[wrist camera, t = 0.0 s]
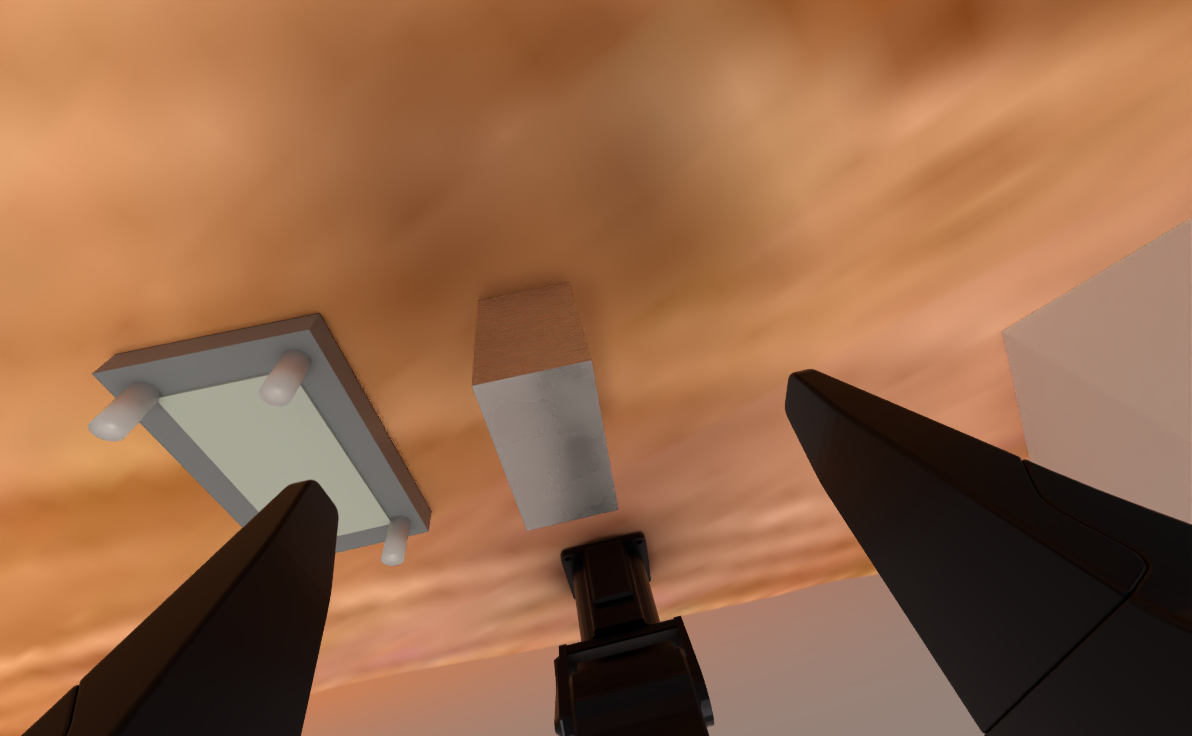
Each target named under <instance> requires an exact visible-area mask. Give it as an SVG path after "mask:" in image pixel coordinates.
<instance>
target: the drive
mask: <svg viewBox="0 0 1192 736" xmlns="http://www.w3.org/2000/svg"><path fill="white" fill-rule="evenodd" d="M472 388H473V391H474V393H475V396H476V399H477V401H478V404H479V406H480V409H481V412H482V414H483V417H484V419H485V422H486V425H487V427H488V430H489V433H490V435H491V438H492V440H493V443H494V446H495V448H496V451H497V454H498V456H499V459H500V461H501V464H502V467H503V469H504V472H505V474H506V477H507V480H508V482H509V485H510V488H511V490H512V493H513V495H514V498H515V501H516V503H517V506H518V509H519V511H520V514H521V516H522V519H523V522H524V524H525V527H526V530H527V531H529V530H533V529H537V528H542V527H546V526H550V525H555V524H559V523H563V522H567V521H572V520H576V519H580V518H585V517H589V516H593V515H597V514H602V513H606V512H610V511H615V510H618V505H617V499H616V494H615V488H614V483H613V477H612V472H611V466H610V460H609V455H608V449H607V444H606V438H605V433H604V427H603V421H602V416H601V410H600V405H599V399H598V394H597V388H596V382H595V377H594V371H593V366H592V360H591V357H590V353H589V350H588V346H587V343H586V339H585V336H584V332H583V329H582V325H581V322H580V318H579V315H578V311H577V308H576V305H575V301H574V298H573V294H572V291H571V287H570V284H569V282H566V283H561V284H557V285H552V286H547V287H542V288H537V289H532V290H527V291H522V292H517V293H513V294H508V295H503V296H498V297H493V298H488V299H483V300H478V310H477V324H476V337H475V350H474V363H473V376H472Z"/></svg>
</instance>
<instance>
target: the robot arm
mask: <svg viewBox="0 0 1192 736" xmlns="http://www.w3.org/2000/svg"><path fill="white" fill-rule="evenodd" d="M785 411H786V415H787V417H788V419H789V421H790V423H791V425H792V427H793V429H794V431H795V433H796V435H797V437H798V439H799V441H800V443H801V445H802V447H803V449H804V451H805V453H806V455H807V457H808V459H809V461H810V463H811V465H812V467H813V469H814V471H815V473H816V475H817V477H818V479H819V481H820V483H821V484H822V486H823V488H824V489H825V491H826V493H827V494H828V496H829V497H830V499H831V500H832V502H833V503H834V505H835V507H836V508H837V510H838V511H839V513H840V514H841V516H842V517H843V519H844V520H845V522H846V523H847V525H848V527H849V528H850V530H851V531H852V533H853V534H854V536H855V537H856V539H857V540H858V542H859V544H860V545H861V547H862V548H863V550H864V551H865V553H866V554H867V556H868V557H869V559H870V560H871V562H872V564H873V565H874V567H875V568H876V570H877V571H878V573H879V574H880V576H881V577H882V579H883V580H884V582H885V583H886V585H887V586H888V588H889V589H890V591H891V593H892V594H893V596H894V597H895V599H896V600H897V602H898V604H899V605H900V607H901V608H902V610H903V611H904V613H905V614H906V616H907V617H908V619H909V621H910V622H911V624H912V625H913V627H914V628H915V630H916V631H917V633H918V634H919V636H920V637H921V639H922V640H923V642H924V644H925V645H926V647H927V648H928V650H929V651H930V653H931V654H932V656H933V658H934V659H935V661H936V662H937V664H938V665H939V667H940V668H941V670H942V671H943V673H944V675H945V676H946V678H947V679H948V681H949V682H950V684H951V685H952V687H953V688H954V690H955V691H956V693H957V695H958V696H959V698H960V699H961V701H962V702H963V704H964V705H965V707H966V708H967V710H968V712H969V713H970V715H971V716H972V718H973V719H974V721H975V722H976V724H977V725H978V727H979V728H980V730H981V731H982V732H983V733H985V735H984V736H1192V524H1189V523H1187V522H1184V521H1181V520H1179V519H1176V518H1173V517H1170V516H1168V515H1165V514H1162V513H1159V512H1157V511H1154V510H1151V509H1148V508H1146V507H1143V506H1141V505H1138V504H1135V503H1133V502H1130V501H1127V500H1125V499H1122V498H1119V497H1117V496H1114V495H1111V494H1109V493H1106V492H1104V491H1101V490H1098V489H1096V488H1093V487H1091V486H1088V485H1086V484H1084V483H1081V482H1079V481H1076V480H1074V479H1071V478H1069V477H1066V476H1064V475H1062V474H1059V473H1057V472H1054V471H1052V470H1050V469H1047V468H1045V467H1042V466H1040V465H1038V464H1035V463H1033V462H1031V461H1028V460H1021V458H1020V457H1019V456H1016V455H1014V454H1012V453H1009V452H1007V451H1005V450H1002V449H1000V448H998V447H995V446H993V445H991V444H988V443H986V442H983V441H981V440H979V439H976V438H974V437H972V436H969V435H967V434H965V433H962V432H960V431H958V430H955V429H953V428H951V427H948V426H946V425H944V424H941V423H939V422H936V421H934V420H932V419H929V418H927V417H925V416H922V415H920V414H918V413H915V412H913V411H911V410H908V409H906V408H904V407H901V406H899V405H897V404H894V403H892V402H889V401H887V400H885V399H882V398H880V397H878V396H875V395H873V394H871V393H868V392H866V391H864V390H861V389H859V388H857V387H854V386H852V385H850V384H847V383H845V382H843V381H840V380H838V379H835V378H833V377H831V376H828V375H826V374H824V373H821V372H819V371H817V370H814V369H807V370H802V371H798V372H794V373H792V374H791V375H790V376H789V379H788V385H787V393H786V400H785ZM338 521H339V515H338V510H337V508H336V506H335V504H334V503H333V501H332V500H331V499H330V497H329V496H328V495H327V493H326V492H325V491H324V489H323V488H322V487H321V485H320V484H319V483H318V482H317V481H315V480H305V481H300V482H296V483H292V484H289V485H288V486H286V487H285V488H284V489H283V490H282V491H281V492H280V493H279V494H278V495H277V496H276V497H275V498H274V499H272V500H271V501H270V502H269V503H268V504H267V505H266V506H265V507H264V508H263V509H262V510H261V511H260V512H259V513H258V514H257V515H256V516H254V517H253V518H252V519H251V520H250V521H249V522H248V523H247V524H246V525H245V526H244V527H243V528H242V529H241V530H240V531H239V532H237V533H236V534H235V535H234V536H233V537H232V538H231V539H230V540H229V541H228V542H227V543H226V544H225V545H224V546H223V547H222V548H220V549H219V550H218V551H217V552H216V553H215V554H214V555H213V556H212V557H211V558H210V559H209V560H208V561H207V562H206V563H205V564H203V565H202V566H201V567H200V568H199V569H198V570H197V571H196V572H195V573H194V574H193V575H192V576H191V577H190V578H189V579H188V580H186V581H185V582H184V583H183V584H182V585H181V586H180V587H179V588H178V589H177V590H176V591H175V592H174V593H173V594H172V595H171V596H169V597H168V598H167V599H166V600H165V601H164V602H163V603H162V604H161V605H160V606H159V607H158V608H157V609H156V610H155V611H154V612H152V613H151V614H150V615H149V616H148V617H147V618H146V619H145V620H144V621H143V622H142V623H141V624H140V625H139V626H138V627H137V628H135V629H134V630H133V631H132V632H131V633H130V634H129V635H128V636H127V637H126V638H125V639H124V640H123V641H122V642H121V643H120V644H118V645H117V646H116V647H115V648H114V649H113V650H112V651H111V652H110V653H109V654H108V655H107V656H106V657H105V658H104V659H103V660H101V661H100V662H99V663H98V664H97V665H96V666H95V667H94V668H93V669H92V670H91V671H90V672H89V673H88V674H87V675H86V676H84V677H83V678H82V679H81V681H80V684H79V685H76V686H74V687H73V688H72V689H70V690H69V691H68V692H67V693H66V694H65V695H64V696H63V697H62V698H61V699H60V700H59V701H58V702H57V703H56V704H55V705H54V706H53V707H52V708H50V709H49V710H48V711H47V712H46V713H45V714H44V715H43V716H42V717H41V718H40V719H39V720H38V721H36V722H35V723H34V724H33V725H32V726H31V727H30V728H29V729H28V730H27V731H26V732H25V733H23V734H22V735H21V736H301V733H302V728H303V723H304V719H305V714H306V710H307V705H308V700H309V696H310V691H311V687H312V682H313V677H314V673H315V668H316V663H317V659H318V654H319V650H320V645H321V640H322V636H323V631H324V626H325V622H326V617H327V612H328V607H329V602H330V596H331V589H332V580H333V570H334V561H335V551H336V541H337V531H338ZM561 561H562V564H563V567H564V570H565V573H566V576H567V579H568V582H569V585H570V588H571V591H572V594H573V597H574V599H576V606H577V614H578V621H579V628H580V636H581V642H578V643H574V644H570V645H567V644H564V645H560V646H559V657H557V658H556V659H555V660H554V666H555V676H556V701H555V720H554V725H555V732H556V734H558V735H559V736H709V733H708V730H707V727H709V726H713V725H714V717H713V712H712V707H711V704H710V699H709V696H708V692H707V688H706V685H705V681H704V678H703V675H702V672H701V669H700V666H699V664H698V661H697V659H696V655H695V653H694V650H693V648H692V645H691V642H690V639H689V637H688V634H687V631H686V628H685V626H684V623H683V620H682V618H681V616H677V617H673V619H671V620H667V621H663V622H660V620H659V616H658V613H657V609H656V605H655V602H654V598H653V595H652V591H651V587H650V584H649V582H650V581H651V577H650V569H649V562H648V554H647V546H646V540H645V536H644V535H643V534H641V533H639V534H634V535H630V536H626V537H621V538H617V539H613V540H609V541H604V542H600V543H596V544H592V545H587V546H583V547H579V548H575V549H570V550H566V551H564V552H562V553H561Z"/></svg>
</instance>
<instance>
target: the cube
mask: <svg viewBox="0 0 1192 736" xmlns="http://www.w3.org/2000/svg"><path fill="white" fill-rule="evenodd" d="M1002 334H1003V338H1004V343H1005V348H1006V352H1007V357H1008V361H1009V366H1010V371H1011V375H1012V380H1013V385H1014V389H1015V394H1016V398H1017V403H1018V408H1019V412H1020V417H1021V422H1022V426H1023V431H1024V436H1025V440H1026V445H1027V449H1028V454H1029V459H1030V461H1031V462H1033V463H1035V464H1038V465H1040V466H1042V467H1045V468H1047V469H1050V470H1052V471H1054V472H1057V473H1059V474H1062V475H1064V476H1066V477H1069V478H1071V479H1074V480H1076V481H1079V482H1081V483H1084V484H1086V485H1088V486H1091V487H1093V488H1096V489H1098V490H1101V491H1104V492H1106V493H1109V494H1111V495H1114V496H1117V497H1119V498H1122V499H1125V500H1127V501H1130V502H1133V503H1135V504H1138V505H1141V506H1143V507H1146V508H1148V509H1151V510H1154V511H1157V512H1159V513H1162V514H1165V515H1168V516H1170V517H1173V518H1176V519H1179V520H1181V521H1184V522H1187V523H1189V524H1192V217H1191V218H1190V219H1188V220H1186V221H1185V222H1183V223H1181V224H1180V225H1178V226H1176V227H1175V228H1173V229H1171V230H1170V231H1168V232H1166V233H1165V234H1163V235H1161V236H1160V237H1158V238H1156V239H1155V240H1153V241H1151V242H1150V243H1148V244H1146V245H1145V246H1143V247H1141V248H1140V249H1138V250H1136V251H1135V252H1133V253H1131V254H1130V255H1128V256H1126V257H1125V258H1123V259H1121V260H1120V261H1118V262H1116V263H1115V264H1113V265H1111V266H1110V267H1108V268H1106V269H1105V270H1103V271H1101V272H1100V273H1098V274H1096V275H1095V276H1093V277H1091V278H1090V279H1088V280H1086V281H1085V282H1083V283H1081V284H1080V285H1078V286H1076V287H1075V288H1073V289H1071V290H1070V291H1068V292H1066V293H1065V294H1063V295H1061V296H1060V297H1058V298H1056V299H1055V300H1053V301H1051V302H1050V303H1048V304H1046V305H1045V306H1043V307H1041V308H1040V309H1038V310H1036V311H1035V312H1033V313H1031V314H1030V315H1028V316H1026V317H1025V318H1023V319H1021V320H1020V321H1018V322H1016V323H1015V324H1013V325H1011V326H1010V327H1008V328H1006V329H1005V330H1003V331H1002Z"/></svg>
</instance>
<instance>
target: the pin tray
mask: <svg viewBox="0 0 1192 736" xmlns="http://www.w3.org/2000/svg"><path fill="white" fill-rule="evenodd" d="M92 374H93V375H94V376H95V377H96V378H97V379H98V380H99V381H100V383H101V384H102V385H103V386H104V387H105V388H106V389H107V390H108V391H109V392H110V393H111V394H112V395H113V396H114V397H115V399H114V400H113V401H112V402H111V403H110V404H109V405H108V406H107V407H106V408H105V409H104V410H103V411H102V412H101V413H99V414H98V415H97V416H96V417H95V418H94V419H93V420H92V421H91V422H90V423H89V425H88V428H89V430H90V432H91V433H92V434H93V435H95V436H96V437H98V438H100V439H103V440H106V441H120V440H122V439H124V438H125V437H126V436H127V435H128V434H129V433H130V431H131V430H132V429H133V428H134V427H135V426H136V425H137V424H138V423H139V422H140V423H141V424H142V425H143V426H144V427H145V428H146V429H147V431H148V432H149V433H150V434H151V435H152V436H153V437H154V438H155V439H156V440H157V441H158V442H159V443H160V444H161V445H162V446H163V447H164V448H165V449H166V450H167V451H168V452H169V453H170V454H171V455H172V456H173V457H174V458H175V459H176V460H177V461H178V462H179V463H180V464H181V465H182V466H183V467H184V468H185V469H186V470H187V471H188V472H189V473H190V474H191V475H192V476H193V477H194V479H195V480H196V481H197V482H198V483H199V484H200V485H201V486H202V487H203V488H204V489H205V490H206V491H207V492H208V493H209V494H210V495H211V496H212V497H213V498H214V499H215V500H216V501H217V502H218V503H219V504H220V505H221V506H222V507H223V508H224V509H225V510H226V511H227V512H228V513H229V514H230V515H231V516H232V517H233V518H234V519H235V520H236V521H237V522H238V523H239V524H240V525H241V527H242V528H243V527H244V526H245V525H246V524H247V523H248V522H249V521H250V520H251V519H252V518H253V517H254V516H256V515H257V514H258V513H259V512H260V511H261V510H262V509H263V508H264V507H265V506H266V505H267V504H268V503H269V502H270V501H271V500H272V499H274V498H275V497H276V496H277V495H278V494H279V493H280V492H281V491H282V490H283V489H284V488H285V487H286V486H288V485H289V484H292V483H296V482H300V481H305V480H315V481H317V482H318V483H319V484H320V485H321V487H322V488H323V489H324V491H325V492H326V493H327V495H328V496H329V497H330V499H331V500H332V501H333V503H334V504H335V506H336V508H337V510H338V515H339V521H338V531H337V541H336V551H335V553H337V552H342V551H346V550H350V549H355V548H359V547H363V546H368V545H372V544H376V543H381V542H385V544H384V548H383V553H382V557H381V561H382V563H383V564H385V565H389V566H396V565H399V564H401V563H402V562H403V561H404V556H405V550H406V545H407V539H408V536H411V535H416V534H420V533H424V532H429V525H430V518H431V511H430V509H429V507H428V505H427V503H426V502H425V500H424V498H423V496H422V495H421V493H420V491H419V489H418V487H417V486H416V484H415V482H414V480H413V479H412V477H411V475H410V473H409V471H408V470H407V468H406V466H405V464H404V463H403V461H402V459H401V457H400V455H399V454H398V452H397V450H396V448H395V447H394V445H393V443H392V441H391V439H390V438H389V436H388V434H387V432H386V431H385V429H384V427H383V425H382V423H381V422H380V420H379V418H378V416H377V415H376V413H375V411H374V409H373V407H372V406H371V404H370V402H369V400H368V399H367V397H366V395H365V393H364V391H363V390H362V388H361V386H360V384H359V383H358V381H357V379H356V377H355V375H354V374H353V372H352V370H351V368H350V367H349V365H348V363H347V361H346V359H345V358H344V356H343V354H342V352H341V351H340V349H339V347H338V345H337V343H336V342H335V340H334V338H333V336H332V335H331V333H330V331H329V329H328V327H327V326H326V324H325V322H324V320H323V319H322V317H321V315H320V313H318V314H313V315H308V316H303V317H299V318H294V319H289V320H284V321H279V322H274V323H269V324H264V325H259V326H254V327H249V328H244V329H239V330H234V331H229V332H224V333H219V334H215V335H210V336H205V337H200V338H195V339H190V340H185V341H180V342H175V343H170V344H165V345H160V346H155V347H150V348H145V349H140V350H136V351H131V352H126V353H121V354H116V355H114V356H113V357H112V358H110V359H109V360H108V361H107V362H106V363H104V364H103V365H102V366H101V367H99V368H98V369H97V370H96V371H95V372H93V373H92Z"/></svg>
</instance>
